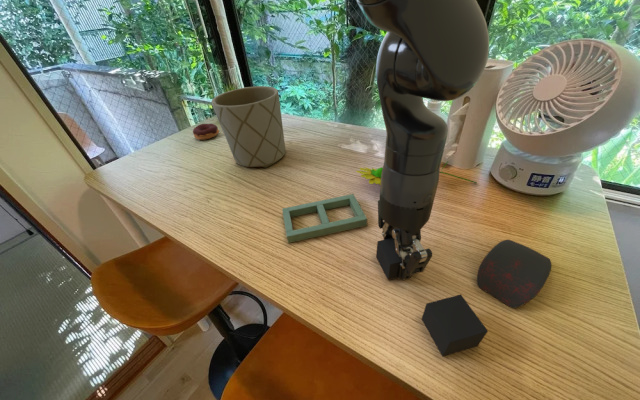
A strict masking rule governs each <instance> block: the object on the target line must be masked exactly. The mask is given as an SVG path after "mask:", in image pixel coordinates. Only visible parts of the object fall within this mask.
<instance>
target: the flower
mask: <svg viewBox="0 0 640 400" xmlns="http://www.w3.org/2000/svg"><path fill="white" fill-rule="evenodd" d="M448 163H449V160H448V161H447V162H445V164H444V165H443V166H442V168H441V170H443V169H445V167H446V166H447V164H448ZM382 169H383V166H382V167H378V168H374V167H372V168H369V167H359V170H356V171H355V172H356V173H358V174H360V177H361V178H365V179H366V180H368V184H369V185H373V184H376V185H379V187H380V186H381V174H382ZM441 170H440V171H439V174H444V175H448V176H452V177H455V178H458V179H461V180H465V181H468V182H471V183H474V184H477V183H478V182H477V181H474V180H470V179H468V178H464V177H461V176H457V175H455V174H451V173H448V172H444V171H441Z"/></svg>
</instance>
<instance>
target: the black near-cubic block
mask: <svg viewBox="0 0 640 400" xmlns="http://www.w3.org/2000/svg"><path fill="white" fill-rule="evenodd" d="M410 246H411V245H410ZM410 246H405V247H401V249H403V248H407V247H410ZM375 258H376V259H377V261H378V263H379V265H380V268H381V270H382V272H383V274H384V275H385V277H386V280H387V281H391V280H395V279H399V278H398V276H397V273H398V267H399V264H400V263H399V256H398V255H397V254H396V252H395V242H394V238H389V239H385V240H384V239H381V240H377V242H376V255H375ZM407 259H410V255H407V256H405V260H407Z"/></svg>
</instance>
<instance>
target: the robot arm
mask: <svg viewBox="0 0 640 400" xmlns="http://www.w3.org/2000/svg"><path fill="white" fill-rule="evenodd" d="M356 3H357V5H358V7H359V9H360V10H361V13H362V14H363V16H364V17H365V19H366V20H367V22H369V23H370V25H371V26H373V27H375V28H376V29H378V30H381V31H384V32H386V33H385V34H384V36H383V38H382V41H381V43H380V46H379V48H378V52H377V55H376V56H377V57H376V62H375V63H376V65H375V79H376V86H377V87H376V88H377V92H378V97H379V102H380V103H379V104H380V107H381V108H380V109H381V114H382V118H383V122H384V126H385V132H386V135H385V136H386V137H385V146H384V147H385V148H384V160H383V165H382V167H383V169H382V174H381V186H380V185H379V187H380V189H379V198H378V200H377V224H378V228H379V229H382V231H381V235H382V238H383V240H385V239H389V238H394V242H395V252H396V254H397V255H398V256H399V263H400V264H399V267H398V273H397V276H398V278H397V279H398V280H402V281H404V280H408V279H411V278H412V275H415V274H418V273H420V274H421V273H424V272H425V270H426V268H427V266H428V265H429V262H430V261H431V259H432V258H433V251H432V249H430V248H424V246H423V244H422V243H421V241H422V234H421V232H422V231H421V230H422V229H423V228H424V227H425V225H427V223H428V222H429V220H430V218H431V214H432V210H433V205H434V202H435V197H436V193H437V189H438V185H439V180H440V173H439V171H440V172H441V170H440V169H441V164H442V160H443V155H444V152H445V147H446V144H447V138H448V133H449V127H448V124H447V122H446V121H445V119H444V118H442V117H441V116H439V115H438V114H436V113H435V112H433V111H432V110H430V109H429V108H428V107H427V105H426V104H425V101H424V99H428V100H432V101H437V102H450V101H455V100H457V99H460V98H461V97H463V96H465V95H466V94H468V92H470V91H471V90H472V89H473V88H475V86H476V85H477V84H478V82H479V81H480V79H481V77H482V76H483V74H484V72H485V69H486V67H487V63H488V59H489V54H490V34H489V33H490V32H489V30H488V29H489V28H488V23H487V21H486V18H485V16H484V13H483V10H482V9H481V7H480V4H479V3H478V1H477V0H356ZM410 245H411V246H410ZM405 246H410V247H407V248H403V249H401V247H405ZM407 255H410V259H407V260H405V256H407Z"/></svg>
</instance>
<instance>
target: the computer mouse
mask: <svg viewBox="0 0 640 400" xmlns="http://www.w3.org/2000/svg"><path fill="white" fill-rule="evenodd" d="M551 271H552V261H551V258H549V257H548V256H545V255H544V254H542V253H540V252H538V251H537V250H534V249H533V248H531V247H529V246H526V245H524V244H521V243H519V242H516V241H514V240H511V239H504V240H502V241H500V242H498V243H497V244H496V245H494V247H492V249H490V251H489V252H487V253H486V254H485V257H484V258H483V259H482V261H481V262H480V264H479V267H478V271H477V276H476V284H477V286H478V288H479V289H481V290H482V291H484V292H486V293H487V294H489V295H491V296H492V297H494V298H496V299H497V300H499V301H500V302H502V303H503V304H505V305H506V306H508V307H509V308H513V309H515V308H519V307H521V306H523V305H525V304H527V303H529V302H530V301H531V300H533V299H534V298H536V296H537V295H538V294H539V293H540V292H541V291H542V289H543V287H544V286H545V284H546V282H547V280H548V278H549V275H550V274H551Z"/></svg>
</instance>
